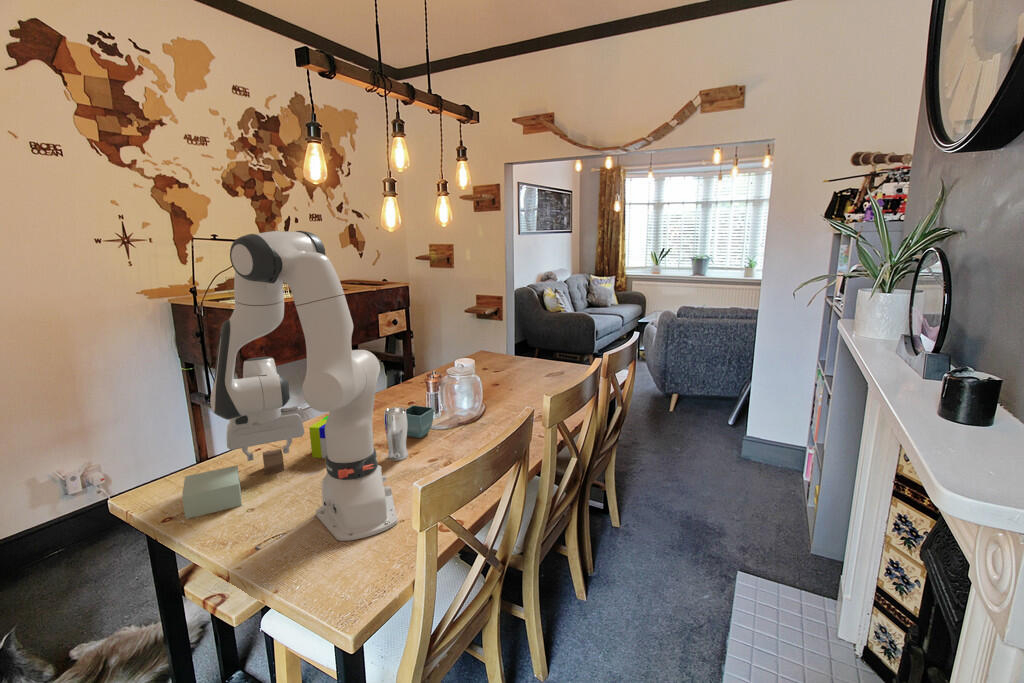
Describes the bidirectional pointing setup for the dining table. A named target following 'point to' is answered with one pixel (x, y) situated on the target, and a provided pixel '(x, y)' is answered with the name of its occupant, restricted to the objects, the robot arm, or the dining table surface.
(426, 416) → the flower pot
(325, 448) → the puzzle toy
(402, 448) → the beer glass
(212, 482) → the block
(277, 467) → the walnut cube
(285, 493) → the dining table surface
